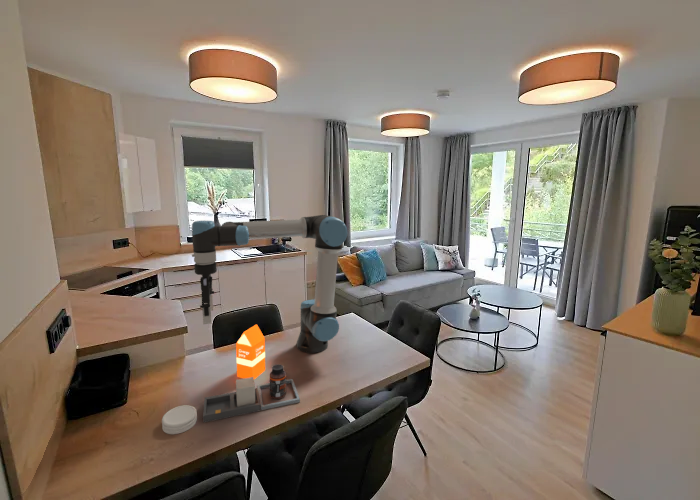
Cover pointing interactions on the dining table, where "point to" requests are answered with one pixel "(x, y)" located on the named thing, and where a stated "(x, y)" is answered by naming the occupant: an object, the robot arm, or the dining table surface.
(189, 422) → the coaster
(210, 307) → the robot arm
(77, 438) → the dining table surface
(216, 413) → the grey compartment organizer
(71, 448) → the dining table surface
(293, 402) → the grey flat square frame
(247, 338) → the orange juice
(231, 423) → the dining table surface
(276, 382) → the supplement bottle
